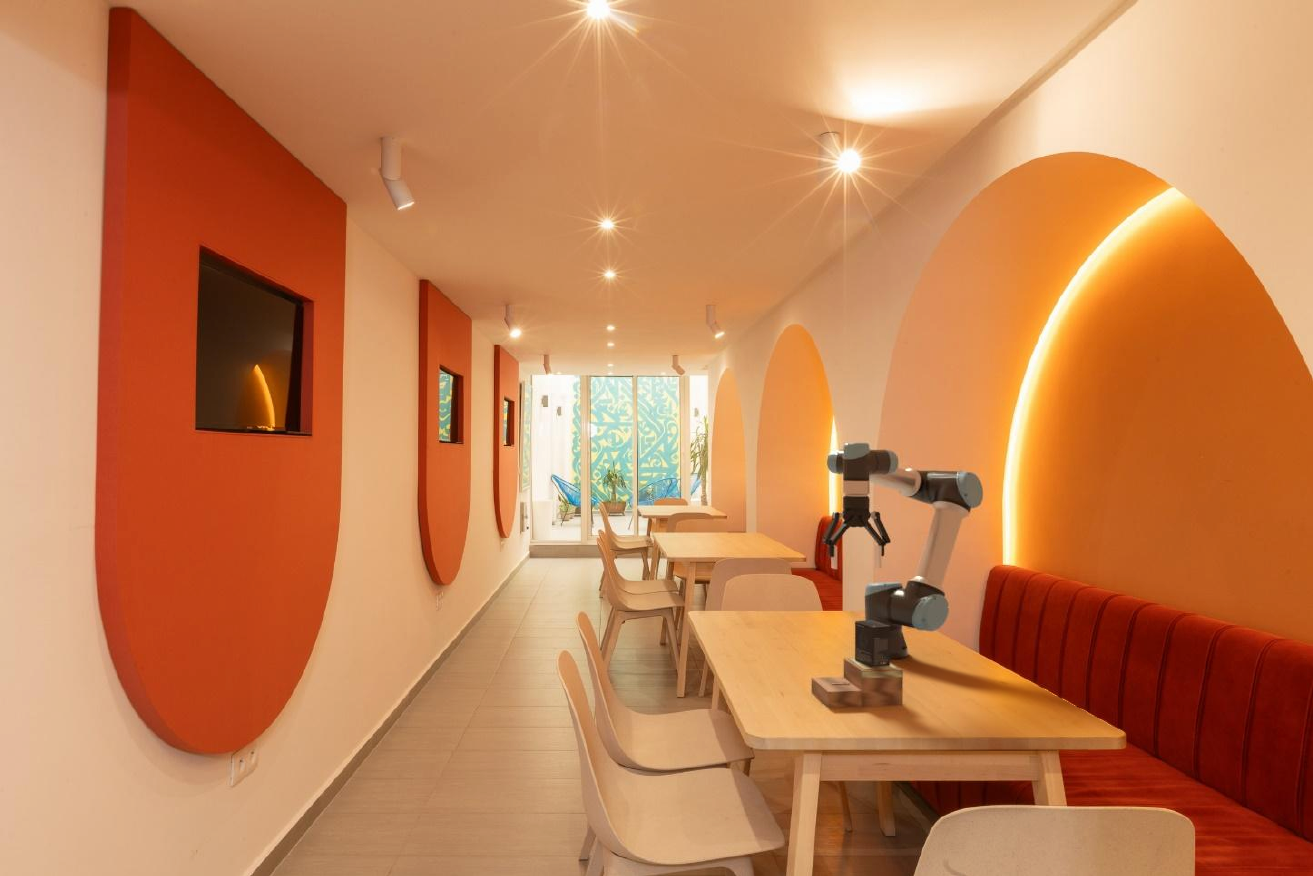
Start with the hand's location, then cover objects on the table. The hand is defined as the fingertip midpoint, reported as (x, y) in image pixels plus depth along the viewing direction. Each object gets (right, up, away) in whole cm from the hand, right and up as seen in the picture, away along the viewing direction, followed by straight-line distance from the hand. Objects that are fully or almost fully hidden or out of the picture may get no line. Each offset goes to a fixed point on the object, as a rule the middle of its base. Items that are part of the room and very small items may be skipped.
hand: (856, 568), depth 214 cm
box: (-1, -22, -20) cm, 30 cm away
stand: (-6, -31, -21) cm, 38 cm away
